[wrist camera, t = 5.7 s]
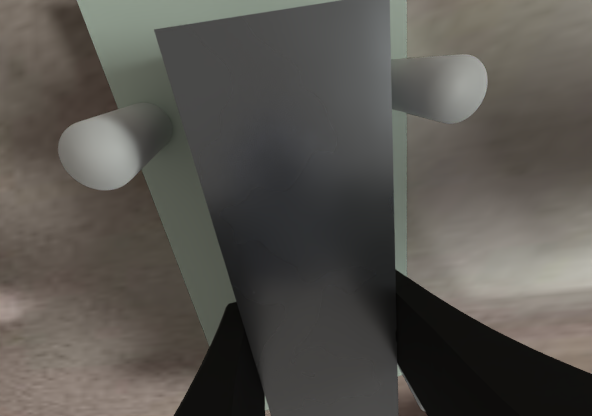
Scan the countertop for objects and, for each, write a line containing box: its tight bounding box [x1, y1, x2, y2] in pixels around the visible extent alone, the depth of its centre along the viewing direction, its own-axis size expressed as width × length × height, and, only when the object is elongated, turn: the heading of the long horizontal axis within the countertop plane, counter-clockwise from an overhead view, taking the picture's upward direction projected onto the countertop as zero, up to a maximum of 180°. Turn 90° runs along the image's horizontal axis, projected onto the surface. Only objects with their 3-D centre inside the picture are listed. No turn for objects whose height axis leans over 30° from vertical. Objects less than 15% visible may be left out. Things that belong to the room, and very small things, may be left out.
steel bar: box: [154, 0, 398, 416], centre depth 11 cm, size 16×4×5 cm, turn 9°
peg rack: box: [58, 0, 488, 411], centre depth 12 cm, size 20×10×6 cm, turn 9°
